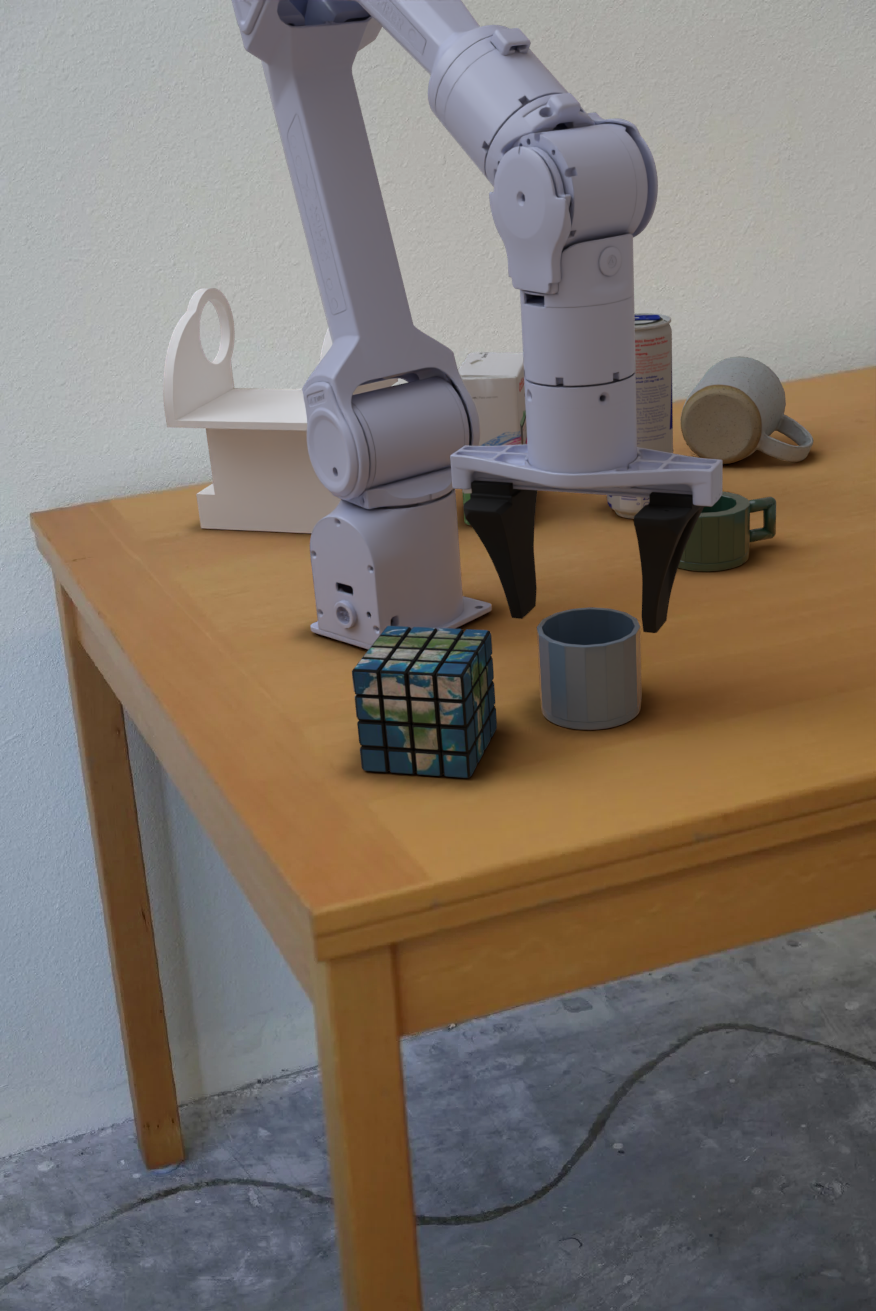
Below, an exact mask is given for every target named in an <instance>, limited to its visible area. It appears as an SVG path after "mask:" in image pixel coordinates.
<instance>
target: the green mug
mask: <svg viewBox="0 0 876 1311" xmlns="http://www.w3.org/2000/svg"><path fill="white" fill-rule="evenodd" d="M758 512H762V527H757V528H752V529H751V514H753V513H758ZM776 534H777V500H776V498H775V497H773V496H765V497H761V498H755V499H748V498H747V497H745V496H743V495H741V494H739V493H733V492H729V491H723V490H722V496H721V497H720V499H719V500H718V501H717V502H716V503H715V504H714V505H713V506H711V507H710V506H704V508H703V510H702V512H701V514H700V516H699V518H698V520H697V522H696V524H695V526H694V528H693V531H692V533H691V535H690V537H689V540H688V542H687V544H686V547H685V549H684V552H683V555H682V557H681V560H680V563H679V566H678V569H681V570H684V571H685V570H686V571H693V572H720V571H725V570H731V569H735V568H737V567H740V566H742V565H744V564H745V563H746V562H747V561H748V560H749V558H750V545H751V544H750V543H756V542H760V541H766V540H771V539H773V538H775V537H776Z"/></svg>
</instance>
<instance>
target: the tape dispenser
mask: <svg viewBox="0 0 876 1311" xmlns="http://www.w3.org/2000/svg"><path fill="white" fill-rule="evenodd" d="M208 302H210V303H211V305H212V306H213V307H214V309H215V311H216V315H217V318H218V323H219V329H220V330H219V331H220V333H219V334H220V336H219V337H220V338H219V346H218V349H217V350H218V351H217V353H216V355H215V357H214V359H213V360H212V361H211V360H210V359H208V356H206V354H205V352H204V348H203V344H202V341H201V329H200V327H201V318H202V313H203V311H204V308H205V306H206V304H207V303H208ZM232 311H233V310H232V308H231V305H230V302H229V300H228V298H227V297H226V296H225V293H223V292H222V291H221V290H220V289H218V288H215V287H202V288H199V289H197V290H195V292H194V293H193V294H192V295H191V298H190V299H189V301H188V304H187V307H186V311H185V312H184V313H183V315H182V316H181V317H180V318H179V320H178V321H177V322H176V324H175V326H174V329H173V331H172V333H171V336H170V339H169V342H168V345H167V349H166V353H165V358H164V366H163V376H162V399H163V401H162V402H163V410H164V417H165V424H166V428H168V429H169V428H172V429H173V428H174V429H182V428H183V429H205V434H206V442H207V447H208V457H209V463H210V471H211V477H212V483H211V484H209V485H207V486H206V487H204V488H203V489H202V490H200V491H198V492H197V493H196V495H195V497H196V503H197V511H198V517H199V525H200V529H208V530H209V529H211V530H230V531H231V530H232V531H253V532H255V531H256V532H274V533H275V532H277V533H296V534H297V533H298V534H312V531H313V528H314V526H315V525H316V523H317V522H318V521H319V520H321V519H322V518H323V517H325V516H327V515H328V514H330V513H331V512H332V511H333V510H334V509H335V508H336V507H337V506H338V504H339V502H340V500H341V499H339V498H338V497H336V496H334V495H332V493H331V492H330V491H329V490H328V489H327V488H326V487H325V486H324V485H323V484H322V483H321V481H320V480H319V478H318V477H317V475H316V473H315V471H314V469H313V466H312V463H311V460H310V457H309V452H308V447H307V416H306V408H305V403H304V397H303V392H302V388H271V387H269V388H266V387H265V388H264V387H263V388H260V387H258V388H257V387H235V381H234V373H233V366H232V357H233V354H234V349H235V348H234V347H235V338H236V335H235V334H236V333H235V331H236V330H235V321H234V316H233V312H232ZM331 346H332V340H331V336H330V332H329V328H328V327H327V329H326V331H325V334H324V337H323V341H322V345H321V349H320V355H319V361H318V364H319V363H320V361H321V360H322V359H323V357H324V356H325V355H326V353H327V352H328V351H329V349H330V348H331ZM398 382H399V378H398V379H388V380H383V381H379V382H375V383H370V384H366V385H361V386H358V387H357V388H356V390H355V391H354V392H353V395H355V394H360V393H364V392H368V391H373V390H377V389H381V388H386V387H390V386H394V385H396V383H398Z"/></svg>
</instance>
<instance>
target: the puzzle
mask: <svg viewBox="0 0 876 1311" xmlns="http://www.w3.org/2000/svg"><path fill="white" fill-rule="evenodd" d="M492 641H493V640H492V633H491V630H488V629H474V628H473V629H470V628H469V629H468V628H467V629H462V628H455V629H451V628H440V629H438V631H437V629H436V628H427V627H413V628H412V629H411V628H410V627H403V626H387V627H386V628H385V629H384V631H383V632H382V633H381V634H380V636H379V637H378V638H377V639H376V641H375V642H374V643H373V645H372V646H371V647H370V649H369V650H368V649H367V651H366V652H365V653H364V654H363V656H362V657H361V659H360V660H359V661H358V662H357V664H356V665H354V667H353V669H352V670H351V677H352V687H353V688H352V689H353V693H354V694H355V695H354V697H353V698H354V706H355V712H356V713H355V715H356V719H357V722H356V726H357V735H358V743H359V745H360V747H359V754H360V755H359V756H360V764H361V770H362V771H365V772H374V773H375V772H377V773H388V772H389V773H392V774H403V775H415V774H416V775H418V776H419V775H420V776H431V777H432V776H433V777H442V776H443V777H447V778H458V779H470V778H471V777H472V775H473V774H474V772H475V771H476V768H477V766H478V763H479V764H480V761H481V759H482V757H483V755H484V752H485V750H487V748H488V746H489V744H490V742H491V738H493V736H494V734H495V732H496V731H497V729H498V722H497V721H498V720H497V708H496V706H495V705H496V691H495V690H496V689H495V682H494V681H493V680H494V678H495V674H494V658H493V656H492V655H493V643H492Z"/></svg>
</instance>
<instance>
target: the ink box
mask: <svg viewBox="0 0 876 1311" xmlns="http://www.w3.org/2000/svg"><path fill="white" fill-rule="evenodd" d="M458 371H459V374H460V376H461V379H462V381H463V383H464V385H465V387H466V389H467V390H468V392H469V393H470V395H471V396H472V398H473V400H474V402H475V405H476V408H477V411H478V415H479V420H480V441H479V446H502V445H524V444H527V426H526V406H525V386H524V364H523V351H520V352H518V351H514V352H513V351H474V352H469V353H468V354H467V356H465V358H464V361H462V363H461V364H460V366H459V367H458ZM470 493H472V490H471V489H468V490H464V489H461V494H462V506H463V505H464V504H465V503H466V502H467V501H468V500H470ZM463 521H464V524H465V525H467V526H471V525H470V524H469V522H468V521H467V520H466V519H465V515H464V514H463Z"/></svg>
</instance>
